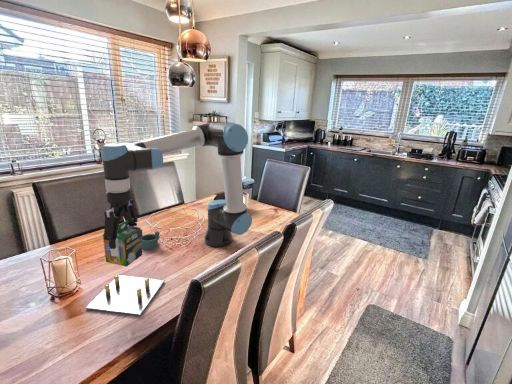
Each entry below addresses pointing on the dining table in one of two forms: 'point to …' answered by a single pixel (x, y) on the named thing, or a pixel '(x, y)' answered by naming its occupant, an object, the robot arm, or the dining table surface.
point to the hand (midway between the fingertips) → (123, 248)
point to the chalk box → (125, 245)
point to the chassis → (126, 295)
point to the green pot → (149, 241)
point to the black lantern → (222, 196)
